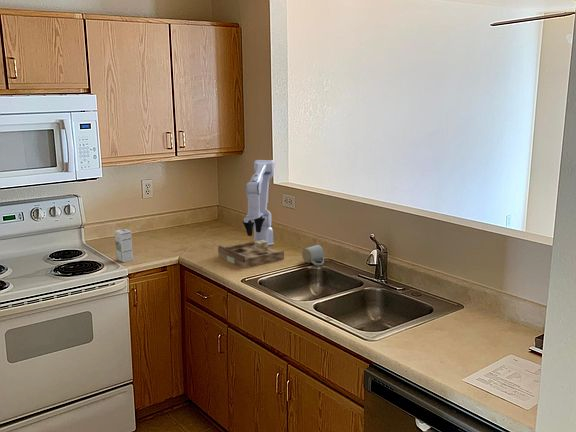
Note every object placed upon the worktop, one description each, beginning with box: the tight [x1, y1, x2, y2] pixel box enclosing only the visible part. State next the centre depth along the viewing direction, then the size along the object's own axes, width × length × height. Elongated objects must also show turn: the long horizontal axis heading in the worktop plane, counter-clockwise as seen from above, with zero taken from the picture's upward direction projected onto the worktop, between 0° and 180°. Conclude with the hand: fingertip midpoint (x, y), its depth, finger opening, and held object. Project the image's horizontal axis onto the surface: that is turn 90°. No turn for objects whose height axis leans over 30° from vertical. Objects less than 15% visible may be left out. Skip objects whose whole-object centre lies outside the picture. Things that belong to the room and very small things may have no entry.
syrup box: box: [114, 228, 134, 263], centre depth 269 cm, size 6×6×14 cm
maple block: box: [254, 240, 269, 252], centre depth 278 cm, size 4×4×4 cm
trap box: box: [217, 241, 285, 269], centre depth 274 cm, size 23×22×6 cm
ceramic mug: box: [301, 244, 325, 267], centre depth 267 cm, size 11×8×8 cm
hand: (254, 233), depth 280 cm, fingers open, 7 cm apart
